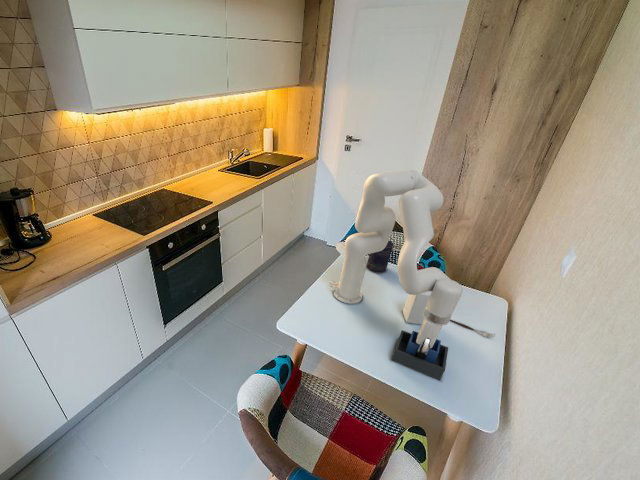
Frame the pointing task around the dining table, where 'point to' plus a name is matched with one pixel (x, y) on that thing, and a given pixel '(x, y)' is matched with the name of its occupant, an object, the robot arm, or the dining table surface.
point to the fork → (476, 330)
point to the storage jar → (380, 259)
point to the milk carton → (416, 307)
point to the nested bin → (414, 346)
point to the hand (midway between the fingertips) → (420, 352)
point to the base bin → (417, 363)
